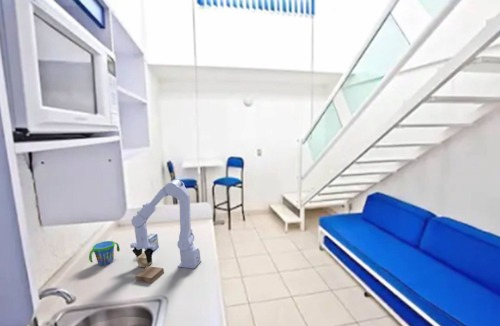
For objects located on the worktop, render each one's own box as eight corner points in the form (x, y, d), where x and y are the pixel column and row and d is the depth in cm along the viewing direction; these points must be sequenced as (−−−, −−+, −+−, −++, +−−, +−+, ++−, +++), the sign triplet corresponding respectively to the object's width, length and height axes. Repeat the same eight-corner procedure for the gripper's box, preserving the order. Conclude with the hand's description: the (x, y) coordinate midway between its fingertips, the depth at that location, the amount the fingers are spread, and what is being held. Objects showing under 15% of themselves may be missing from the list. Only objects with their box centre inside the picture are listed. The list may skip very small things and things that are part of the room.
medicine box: (152, 253, 163) (150, 239, 161) (144, 253, 164) (143, 238, 162) (159, 247, 170) (157, 233, 169) (152, 247, 171) (150, 233, 170)
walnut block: (164, 273, 140) (163, 268, 140) (152, 284, 132) (151, 278, 132) (148, 271, 143) (148, 266, 143) (136, 281, 135) (135, 275, 135)
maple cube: (152, 262, 151) (151, 253, 150) (146, 267, 146) (145, 258, 145) (144, 261, 152) (143, 252, 152) (138, 266, 148) (136, 257, 147)
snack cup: (116, 254, 164) (114, 237, 163) (124, 259, 157) (122, 241, 156) (87, 265, 153) (84, 247, 152) (94, 271, 146) (91, 252, 145)
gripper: (124, 238, 146) (128, 263, 148) (148, 241, 141) (151, 266, 143) (134, 233, 152) (137, 257, 154) (157, 235, 147) (160, 260, 149)
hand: (145, 261), depth 149 cm, fingers closed on maple cube, 5 cm apart
